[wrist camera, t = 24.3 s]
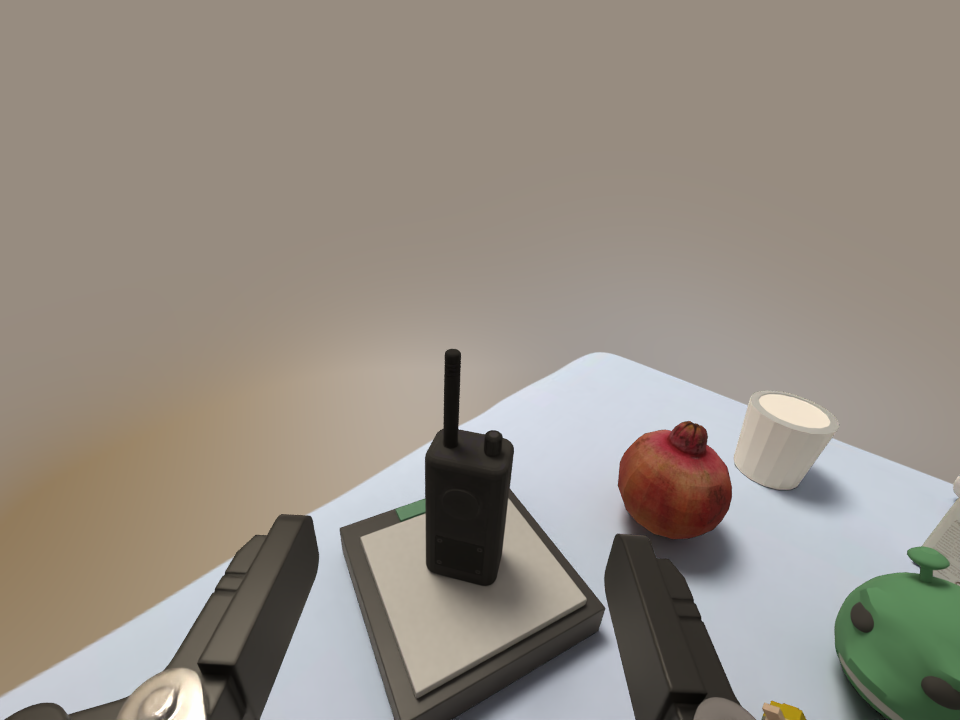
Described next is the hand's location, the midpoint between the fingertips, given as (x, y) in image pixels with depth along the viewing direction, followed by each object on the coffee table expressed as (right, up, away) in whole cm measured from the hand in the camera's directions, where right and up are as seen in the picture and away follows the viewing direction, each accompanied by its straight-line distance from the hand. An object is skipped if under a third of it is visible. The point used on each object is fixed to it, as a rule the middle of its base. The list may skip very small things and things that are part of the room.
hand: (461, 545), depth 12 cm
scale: (-1, -11, +18) cm, 21 cm away
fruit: (+15, -9, +24) cm, 30 cm away
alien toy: (+24, -15, +14) cm, 31 cm away
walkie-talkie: (-1, -8, +17) cm, 19 cm away
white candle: (+28, -6, +31) cm, 42 cm away
